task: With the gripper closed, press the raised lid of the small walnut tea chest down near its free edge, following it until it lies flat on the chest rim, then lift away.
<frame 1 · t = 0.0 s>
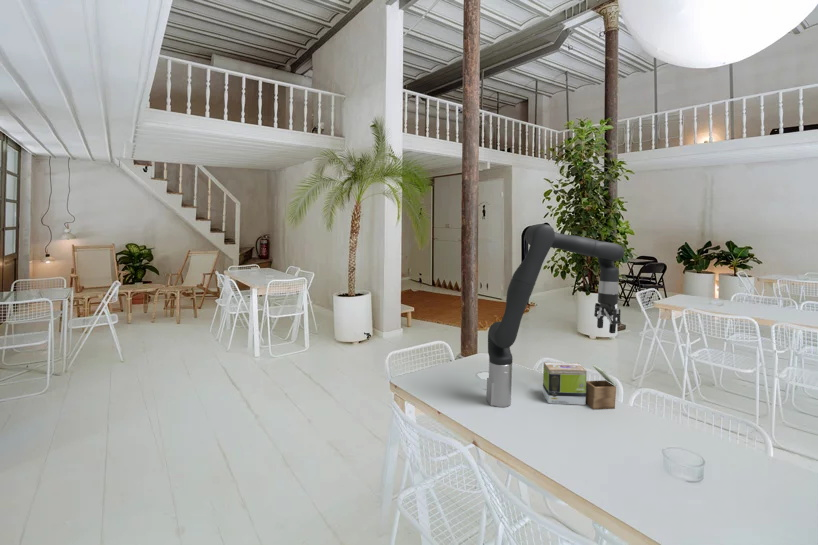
hand: (605, 330, 169), 29 cm above the table, fingers open, 8 cm apart
chest: (599, 405, 165), on the table
tea box: (563, 400, 170), on the table
lid: (604, 375, 164), point 13 cm above the table, hinge at 45.0°
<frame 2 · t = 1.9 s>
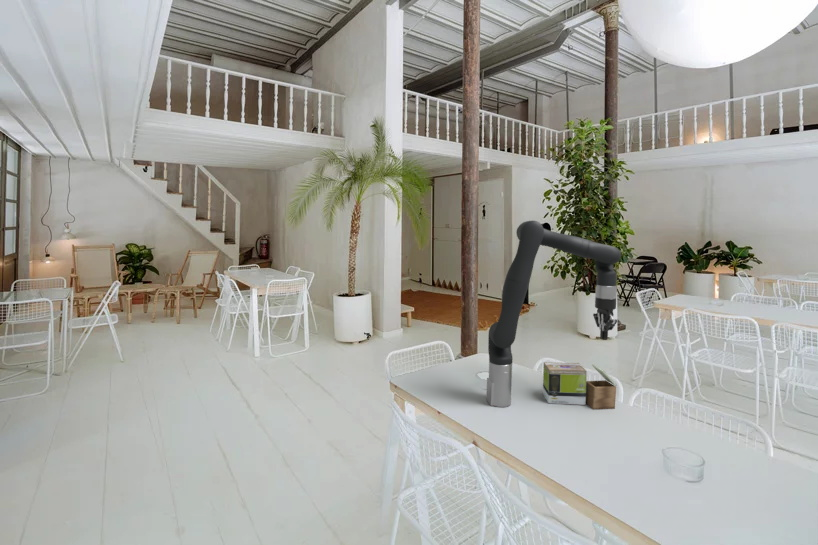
hand: (603, 339, 162), 27 cm above the table, fingers closed
nothing on the table moved.
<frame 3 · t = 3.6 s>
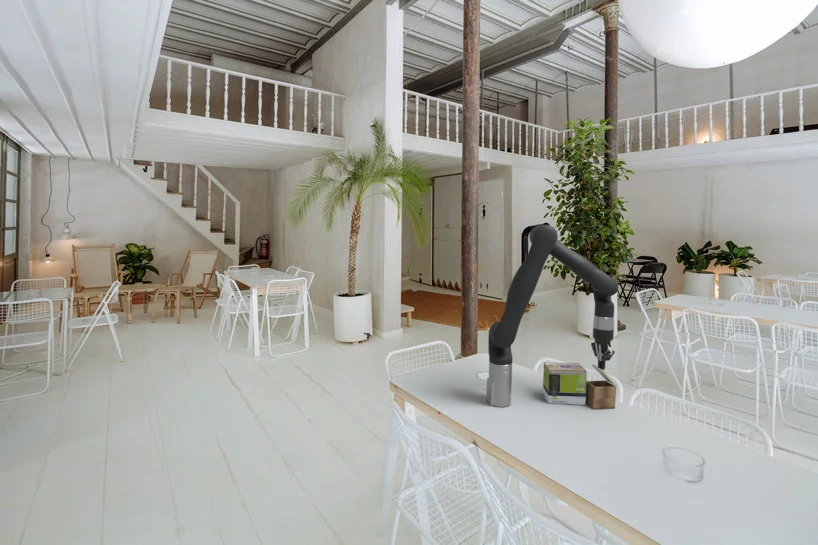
hand: (601, 369, 164), 15 cm above the table, fingers closed
lid: (604, 375, 164), point 13 cm above the table, hinge at 44.6°, touching gripper
everything else where it was.
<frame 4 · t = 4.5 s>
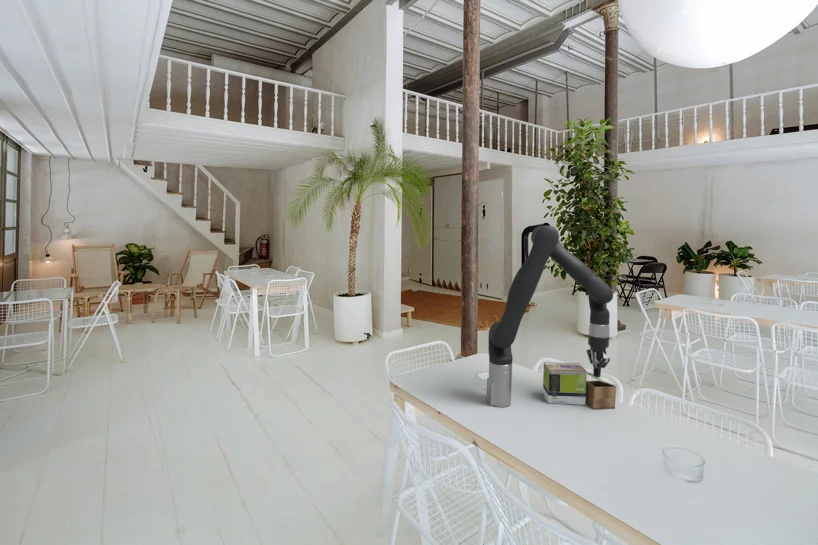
hand: (596, 376, 164), 12 cm above the table, fingers closed
lid: (601, 379, 164), point 11 cm above the table, hinge at 18.9°, touching gripper
everything else where it was.
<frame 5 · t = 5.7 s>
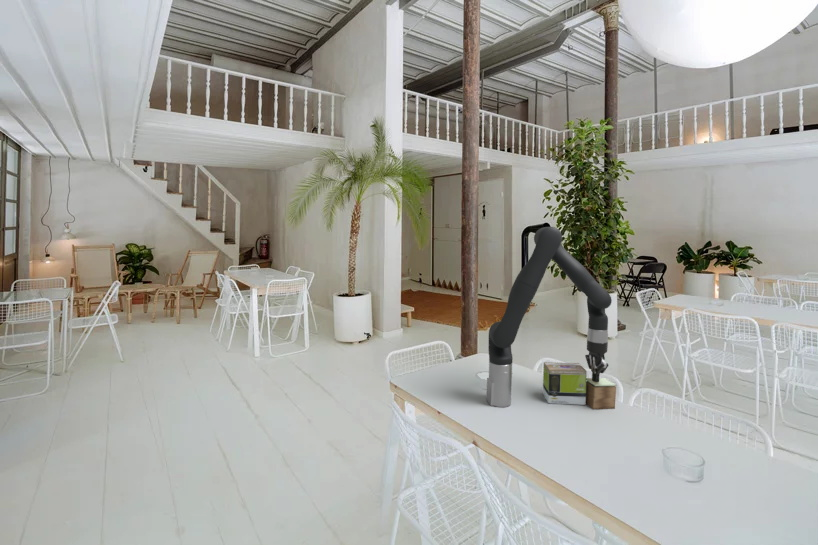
hand: (595, 381, 164), 10 cm above the table, fingers closed
lid: (601, 382, 164), point 10 cm above the table, hinge at 2.2°, touching gripper
everything else where it was.
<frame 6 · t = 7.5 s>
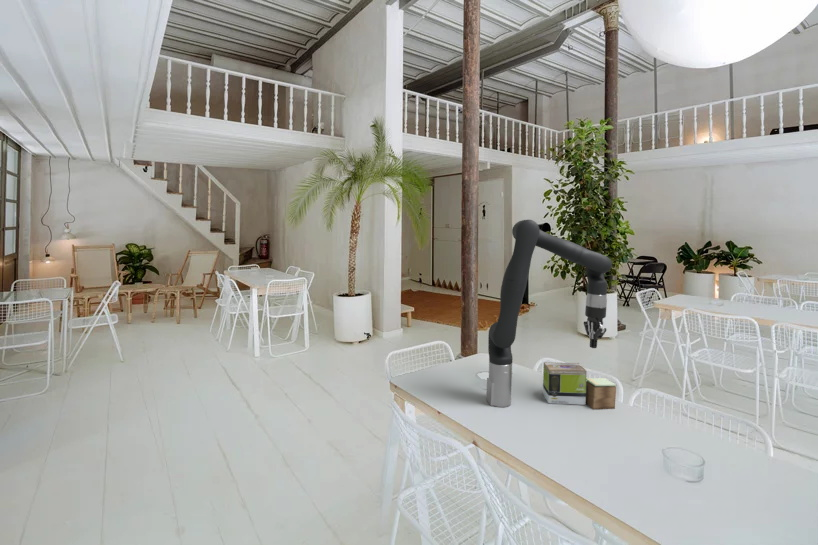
hand: (593, 347, 163), 24 cm above the table, fingers closed
lid: (601, 382, 164), point 10 cm above the table, hinge at 2.1°
everything else where it was.
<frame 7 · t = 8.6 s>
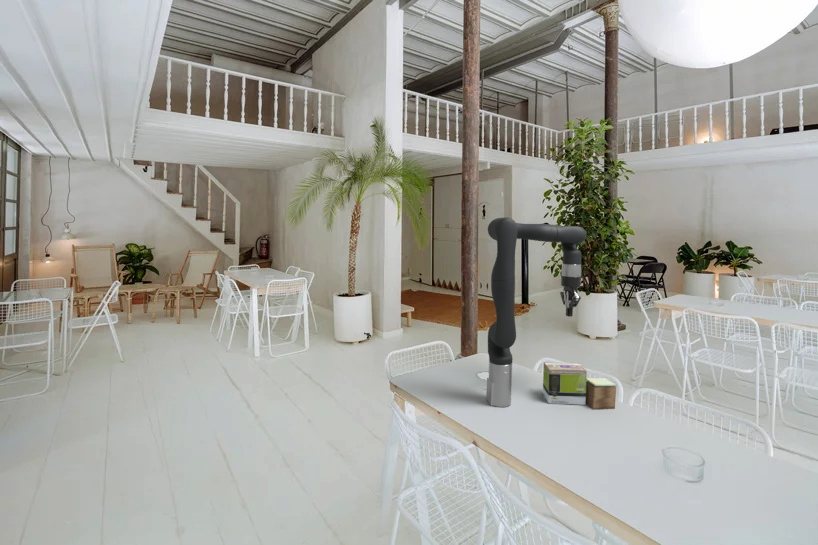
hand: (569, 316, 170), 35 cm above the table, fingers closed
nothing on the table moved.
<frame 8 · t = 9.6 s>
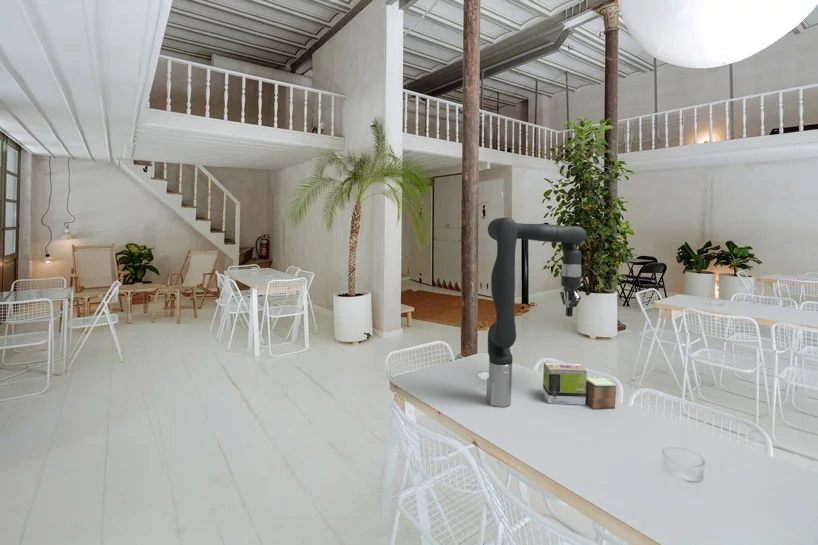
hand: (569, 316, 170), 35 cm above the table, fingers closed
nothing on the table moved.
at the end: lid at +2° (first picture: +45°) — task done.
